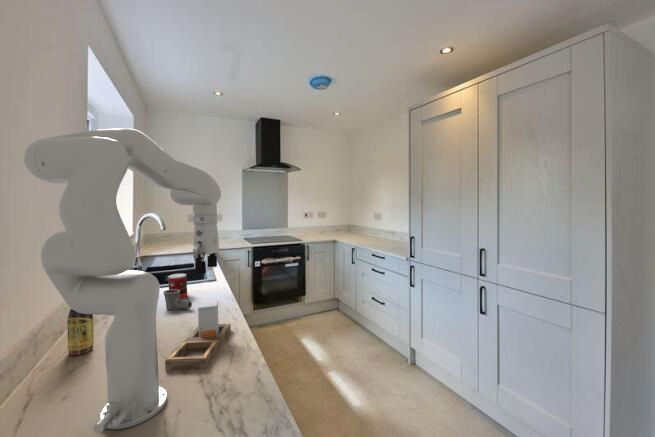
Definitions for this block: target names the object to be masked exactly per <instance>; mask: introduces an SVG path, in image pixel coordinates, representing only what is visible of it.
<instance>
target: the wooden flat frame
mask: <svg viewBox="0 0 655 437" xmlns="http://www.w3.org/2000/svg"><path fill="white" fill-rule="evenodd" d="M231 325H232V324H231V323H219V335H218V336H217V337H199V325H197V327H196V328H195V329H193V331H192V332H191V333H190V334H189V335H188V336H187V337H186V339H185V340H183V341H182V342H181V344H180V345H179V346H178V347H177V348H176V349H175V350H174V351H173V352H172V353H171V354H170V355H169V356H168V357H167V358H166V359H165V361H164V365H165V366H164V367H165V368H164V369H165V371H173V370H174V371H175V370H177V371H179V370H205V369H206V368H207V367H208V366H209V364H210V362H211V361H212V359H213V358H214V356H215V355H216V353H217V352H218V351H219V349H220V348H221V346H222V345H223V343H224V341H225V340H226V338H227V336H228V335H229V334H230V332H231V331H232V330H231V328H232V326H231ZM203 351H205V352H204V354H203V355H202V356H201V355H200V356H199V355H198V356H184V355H185V354H186V353H187V352H203Z"/></svg>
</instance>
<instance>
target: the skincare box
mask: <svg viewBox="0 0 655 437" xmlns="http://www.w3.org/2000/svg"><path fill="white" fill-rule="evenodd" d="M197 316H198V317H197V318H198V323H197V324H198V325H197V326H199V337H217V336H218V335H219V324H220V323H219V302H218V301H215V302H205V303H199V305H198V307H197Z"/></svg>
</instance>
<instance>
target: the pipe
mask: <svg viewBox="0 0 655 437" xmlns="http://www.w3.org/2000/svg"><path fill="white" fill-rule="evenodd" d="M162 293H163V296H164V301H165V308H166V310H169V311H172V310H173V311H174V310H190V309H191V308H192V305H193V303H192V301H191V300H190V299H189V300H188V299H187V300H186V299H184V300H183V299H179V297H180V290H175V289H173V290H169V289H166V290H163V292H162Z"/></svg>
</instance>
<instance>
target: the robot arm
mask: <svg viewBox="0 0 655 437" xmlns="http://www.w3.org/2000/svg"><path fill="white" fill-rule="evenodd" d="M23 155H24V157H23V159H24V160H23V161H24V164H25V165H24V166H25V167H26V168H27V170H28V171H29V173H31V175H33V176H34V177H35V178H36V179H39V180H41V181H44V182H47V183H51V184H66V187H65V189H64V191H63V193H62V195H61V198H60V200H59V201H60V202H59V205H58V213H59V217H60V218H59V219H60V220H61V222H62V224H63V227H64V229H63V230H61V231H57V232H55V233H53V234H52V235H50V236H49V237H48V238H47V239H46V240H45V242H44V244H43V245H42V248H41V252H40V261H41V265H42V268H43V271H44V272H45V274H46V275H47V276H48V278H49V280H50V281H51V283H52V284H53V286H54V287H55V289H56V290H57V291H58V293H59V295H60V296H61V297H62V299H63V300H64V302H65V303H66V305H67V306H68V307H69V308H70V309H71V308H72V309H73V310H74V311H76V312H79V313H83V314H93V315H108V316H113V321H112V323H111V324H110V326H109V327H108V329H107V331H106V333H105V336H104V350H105V367H106V381H107V382H106V383H107V384H106V385H107V386H106V387H107V399H108V401H107V403H106V405H105V406H103V409H102V410H101V412H100V414H99V421H98V422H96V423H95V424H94V426H93V431H94V432H95V433H97V434H101V433H102V432H104V430H105V429H108V430H109V429H110V430H122V429H123V430H124V429H126V428H127V429H129V428H132V427H134V426H137V425H139V424H141V423H144V422H146V421H148V420H149V419H151V418H152V417H154V416H155V415H156V414H158V413H159V412H160V411H161V410H162V409H163V408H164V406H165V404H166V403H167V400H168V392H167V390H166V389H165V388H163V387H161V386H160V381H159V380H160V378H159V358H158V339H157V337H158V336H157V310H158V304H159V303H158V302H159V297H160V290H161V287H160V282H159V280H158V278H157V277H156V276H155V275H153V274H152V273H150V272H147V271H143V270H132V268H133V266H134V265H135V263H136V259H137V252H136V249H135V246H134V245H133V244H134V243H133V242H132V240H131V237H130V235H129V233H128V230H127V228H126V226H125V224H124V221H123V219H122V217H121V214H120V213H119V209H118V205H117V197H118V196H117V195H118V191H119V189H120V186H121V184H122V181H123V180H124V178H125V175H126V174H127V172H128V169H129V171H131V172H133V173H135V174H137V176H139V177H141V178H142V179H144V180H145V181H147V182H148V183H150V184H151V185H153V186H156V187H158V188H162V189H168V190H170V191H169V193H170V194H169V195H170V198H171V200H172V201H173V202H174V203H175V204H177V205H178V206H179V205H180V206H192V223H193V226H194V228H193V249H192V253H193V258H194V260H193V261H194V269H195V271H194V273H195V274H196V275H197V274H198V275H200V274H206V273H207V268H216V267H218V251H219V249H220V243H219V242H220V241H219V230H218V211H217V210H218V208H217V207H218V206H217V205H218V204H217V203H219V201H220V199H221V197H222V192H221V188H220V185H219V184H218V183H217V181H216V180H215V179H214V178H213V177H212V176H211V175H210V174H209V173H208V172H205V171H204V170H202V169H200V168H198V167H195V166H192V165H190V164H187V163H185V162H182V161H178V160H176V159H174V158H173V157H172V155H170V154H168V153H167V151H165V150H164V149H163V148H161V147H160V146H159V145H158V144H157V143H156V142H155V141H154V140H153V139H151V138H150V137H149V136H148V135H146V134H145V133H144V132H142V131H141V130H137V129H133V128H108V129H107V128H104V129H103V128H102V129H92V130H86V131H80V132H75V133H68V134H61V135H56V136H49V137H42V138H39V139H37V140H34V141H33V142H31V143H30V144H29V145H28V147H27V148H26V149H25V151H24V154H23ZM206 256H207V264H206V260H205V259H206ZM206 266H207V267H206Z"/></svg>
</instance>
